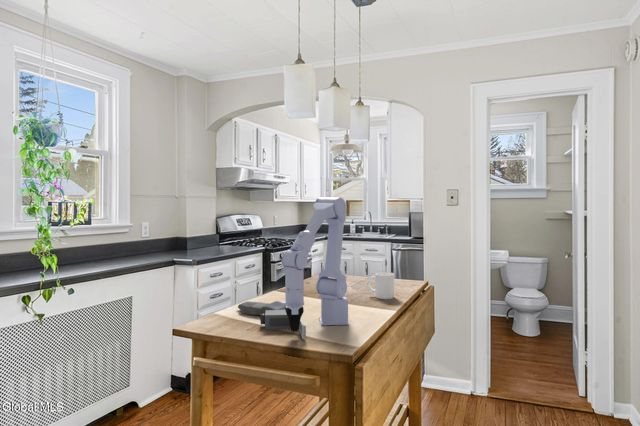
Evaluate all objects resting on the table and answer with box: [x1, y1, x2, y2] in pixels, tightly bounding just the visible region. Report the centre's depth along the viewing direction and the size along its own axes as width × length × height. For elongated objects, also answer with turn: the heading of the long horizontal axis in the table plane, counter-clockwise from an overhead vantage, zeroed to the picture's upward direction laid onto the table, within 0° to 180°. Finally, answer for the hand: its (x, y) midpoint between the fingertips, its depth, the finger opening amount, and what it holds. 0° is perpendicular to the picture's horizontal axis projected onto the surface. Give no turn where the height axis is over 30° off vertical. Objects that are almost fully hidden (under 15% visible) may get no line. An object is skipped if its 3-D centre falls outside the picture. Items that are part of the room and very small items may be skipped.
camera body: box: [260, 310, 291, 331], centre depth 148 cm, size 14×6×6 cm, turn 94°
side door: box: [298, 316, 307, 340], centre depth 140 cm, size 11×1×5 cm, turn 8°
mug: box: [366, 271, 395, 300], centre depth 190 cm, size 12×8×10 cm
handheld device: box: [237, 300, 287, 316], centre depth 165 cm, size 10×20×5 cm, turn 63°
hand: (294, 330), depth 137 cm, fingers closed
